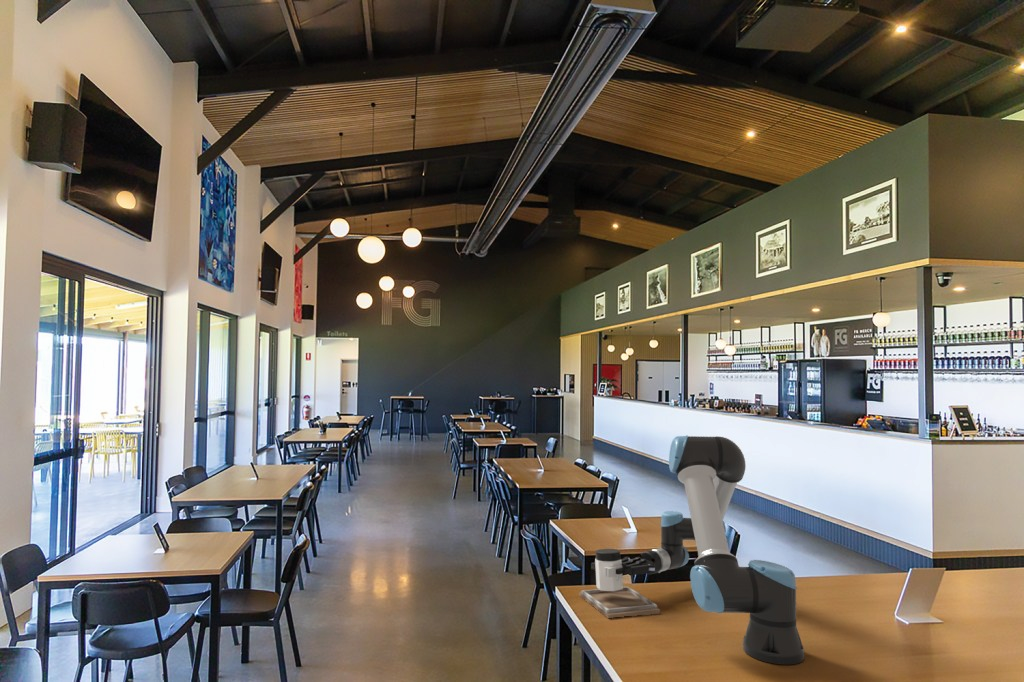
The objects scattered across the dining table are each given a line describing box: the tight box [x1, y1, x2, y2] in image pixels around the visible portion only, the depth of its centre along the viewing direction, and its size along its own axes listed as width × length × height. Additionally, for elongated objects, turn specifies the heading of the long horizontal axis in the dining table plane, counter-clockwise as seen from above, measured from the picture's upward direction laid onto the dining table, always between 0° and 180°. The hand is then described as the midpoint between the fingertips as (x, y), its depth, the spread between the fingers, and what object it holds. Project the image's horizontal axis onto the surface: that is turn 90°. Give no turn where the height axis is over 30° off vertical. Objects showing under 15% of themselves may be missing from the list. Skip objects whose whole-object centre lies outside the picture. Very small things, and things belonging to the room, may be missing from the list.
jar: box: [594, 548, 624, 592], centre depth 205 cm, size 9×8×12 cm
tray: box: [578, 586, 661, 619], centre depth 202 cm, size 22×18×2 cm
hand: (606, 572), depth 199 cm, fingers closed on jar
